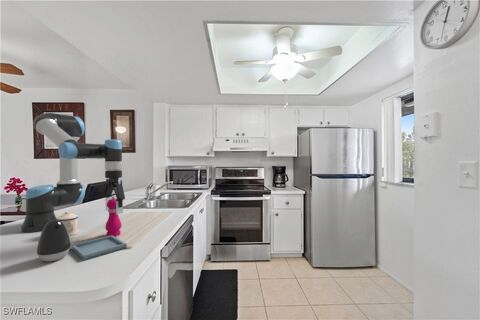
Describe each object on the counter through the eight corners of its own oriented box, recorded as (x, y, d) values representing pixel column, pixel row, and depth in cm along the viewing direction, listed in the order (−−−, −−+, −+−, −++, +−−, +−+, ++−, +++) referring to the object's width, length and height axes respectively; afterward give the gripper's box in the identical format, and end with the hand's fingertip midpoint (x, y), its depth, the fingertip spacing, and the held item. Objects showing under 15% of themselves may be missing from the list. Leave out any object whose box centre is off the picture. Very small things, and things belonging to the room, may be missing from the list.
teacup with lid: (53, 234, 114) (53, 212, 114) (74, 230, 121) (74, 208, 121) (60, 240, 107) (60, 216, 107) (83, 235, 114) (83, 212, 114)
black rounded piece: (42, 267, 81) (42, 225, 80) (32, 260, 86) (32, 220, 86) (75, 257, 89) (75, 218, 89) (64, 251, 95) (64, 215, 95)
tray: (71, 249, 96) (71, 245, 96) (111, 239, 109) (111, 235, 109) (83, 260, 86) (83, 255, 86) (126, 248, 98) (126, 243, 98)
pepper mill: (114, 238, 110) (114, 197, 110) (101, 236, 112) (101, 196, 112) (124, 233, 118) (124, 195, 117) (112, 232, 119) (112, 194, 119)
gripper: (132, 170, 109) (132, 214, 109) (111, 169, 125) (112, 207, 125) (115, 171, 103) (116, 217, 104) (96, 169, 119) (96, 209, 120)
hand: (113, 211), depth 114 cm, fingers open, 13 cm apart
